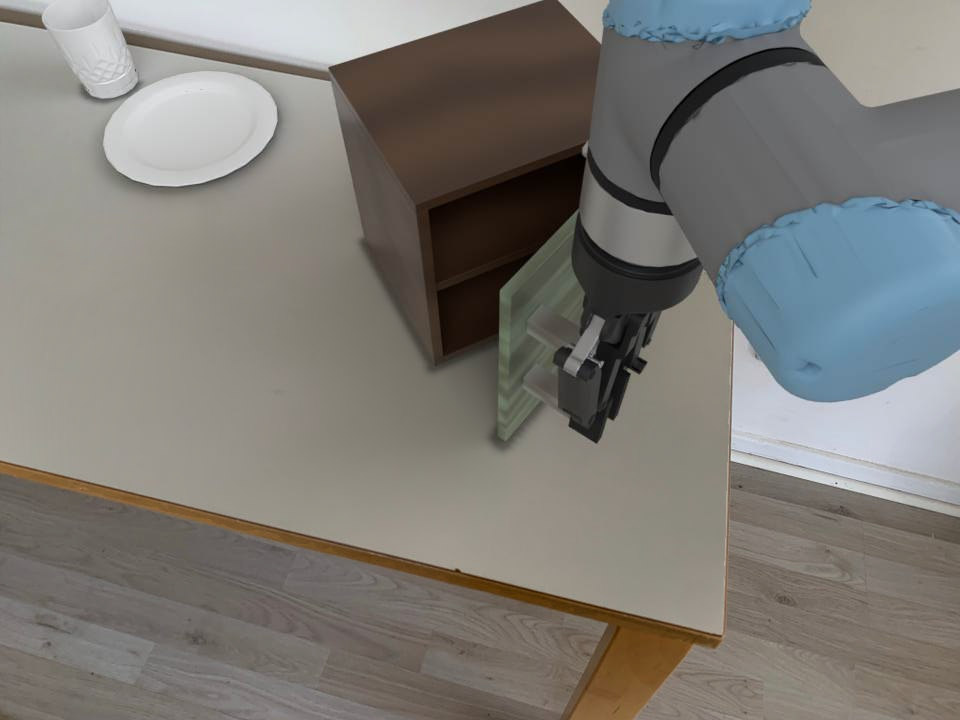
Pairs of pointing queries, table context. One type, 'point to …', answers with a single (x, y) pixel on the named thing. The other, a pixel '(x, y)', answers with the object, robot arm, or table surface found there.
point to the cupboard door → (537, 329)
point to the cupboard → (467, 160)
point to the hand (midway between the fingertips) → (593, 420)
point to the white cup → (92, 45)
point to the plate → (190, 129)
